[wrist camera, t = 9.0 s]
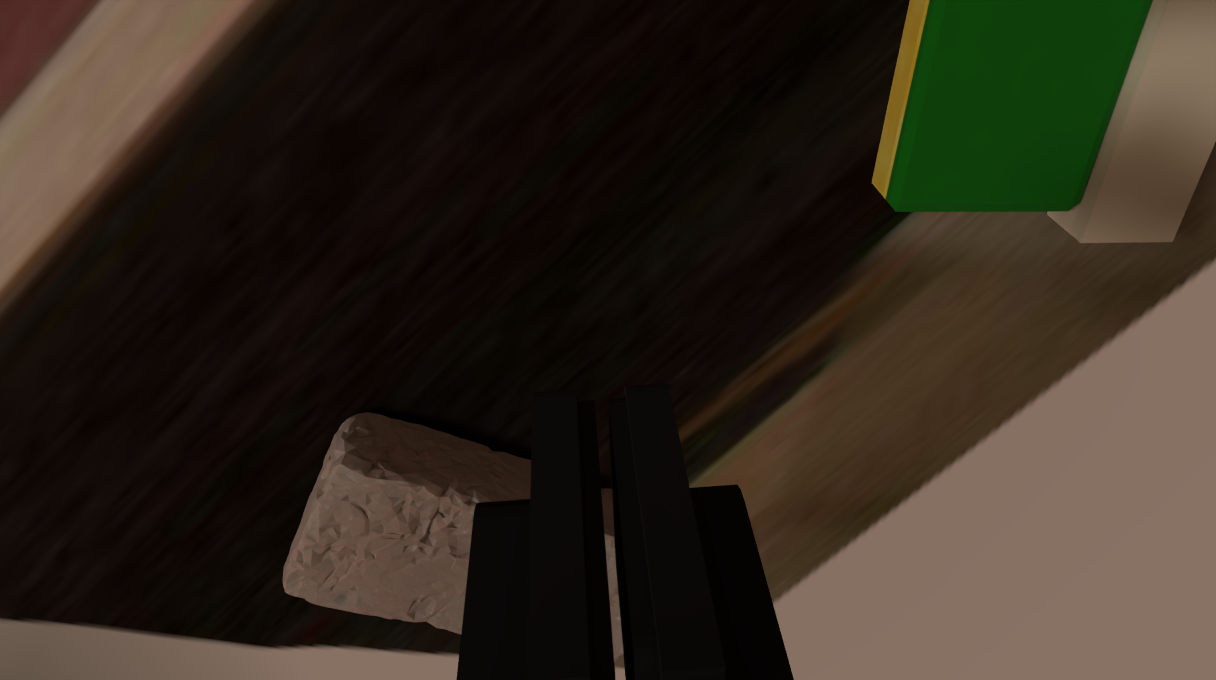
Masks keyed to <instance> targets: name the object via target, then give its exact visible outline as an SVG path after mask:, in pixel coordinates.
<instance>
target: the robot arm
mask: <svg viewBox="0 0 1216 680" xmlns="http://www.w3.org/2000/svg"><path fill="white" fill-rule="evenodd" d="M608 410H609V432H610V454H611V476H612V498H613V519H614V541H615V559H616V573H617V585H618V596H619V608H620V619H621V631H622V642H623V653H624V665H625V676H626V680H794V679H793V675H792V672H791V668H790V664H789V661H788V657H787V653H786V650H785V646H784V643H783V639H782V635H781V632H780V628H779V624H778V621H777V618H776V614H775V610H774V606H773V603H772V599H771V596H770V592H769V588H768V585H767V581H766V577H765V574H764V570H763V567H762V563H761V559H760V556H759V552H758V548H757V545H756V541H755V538H754V534H753V530H752V527H751V523H750V519H749V516H748V512H747V509H746V505H745V501H744V498H743V495H742V492H741V489H740V488H739V486H738V485H726V486H711V487H697V488H689V483H688V478H687V473H686V468H685V464H684V459H683V454H682V449H681V444H680V439H679V434H678V429H677V424H676V419H675V414H674V409H673V404H672V399H671V394H670V390H669V386H668V384H654V385H639V386H625V387H624V398H618V399H608ZM457 680H615V666H614V652H613V638H612V625H611V612H610V599H609V586H608V572H607V559H606V546H605V533H604V520H603V507H602V494H601V481H600V467H599V454H598V441H597V428H596V415H595V402H594V400H587V401H577V390H562V391H547V392H534V393H533V407H532V448H531V488H530V499H523V500H509V501H494V502H480V503H477V504H476V506H475V510H474V516H473V525H472V535H471V545H470V555H469V564H468V574H467V584H466V594H465V604H464V613H463V623H462V633H461V643H460V652H459V662H458V672H457Z"/></svg>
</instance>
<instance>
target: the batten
mask: <svg viewBox="0 0 1216 680" xmlns="http://www.w3.org/2000/svg"><path fill="white" fill-rule="evenodd" d="M1215 142H1216V0H1152V3H1151V5H1150V8H1149V11H1148V14H1147V17H1146V19H1145V22H1144V25H1143V28H1142V31H1141V33H1140V36H1139V39H1138V42H1137V45H1136V47H1135V50H1134V53H1133V56H1132V58H1131V61H1130V64H1129V67H1128V70H1127V72H1126V75H1125V78H1124V81H1123V84H1122V86H1121V89H1120V92H1119V95H1118V98H1117V100H1116V103H1115V106H1114V109H1113V111H1112V114H1111V117H1110V120H1109V123H1108V125H1107V128H1106V131H1105V134H1104V137H1103V139H1102V142H1101V145H1100V148H1099V150H1098V153H1097V156H1096V159H1095V162H1094V164H1093V167H1092V170H1091V173H1090V176H1089V178H1088V181H1087V184H1086V187H1085V190H1084V192H1083V195H1082V198H1081V201H1080V203H1079V204H1077V205H1076V206H1075V207H1073V208H1072V209H1070V210H1069V211H1048V212H1047V215H1048V216H1049V217H1050V218H1052V219H1053V220H1054V221H1055V222H1056V223H1058V224H1059V225H1060V226H1061V227H1062V228H1064V229H1065V230H1066V231H1067V232H1068V233H1069V234H1071V235H1072V236H1073V237H1074V238H1075V239H1077V240H1078V241H1079V242H1080V243H1129V242H1173V240H1174V238H1175V235H1176V233H1177V231H1178V228H1179V226H1180V224H1181V221H1182V219H1183V217H1184V214H1185V212H1186V210H1187V207H1188V205H1189V203H1190V200H1191V198H1192V196H1193V193H1194V191H1195V189H1196V186H1197V184H1198V182H1199V179H1200V177H1201V175H1202V172H1203V170H1204V168H1205V165H1206V163H1207V161H1208V158H1209V156H1210V154H1211V151H1212V149H1213V147H1214V144H1215Z"/></svg>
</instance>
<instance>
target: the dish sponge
mask: <svg viewBox="0 0 1216 680" xmlns="http://www.w3.org/2000/svg"><path fill="white" fill-rule="evenodd" d="M1151 3H1152V0H910V2H909V7H908V12H907V17H906V22H905V26H904V31H903V36H902V41H901V45H900V50H899V55H898V60H897V64H896V69H895V74H894V79H893V84H892V88H891V93H890V98H889V103H888V107H887V112H886V117H885V122H884V126H883V131H882V136H881V141H880V146H879V150H878V155H877V160H876V165H875V169H874V174H873V179H872V184H873V185H874V186H875V187H876V188H877V190H878V191H879V192H880V193H881V194H882V196H883V197H884V198H885V199H886V200H887V202H888V203H889V204H890V205H891V206H892V208H893V209H894V210H895V211H896V212H1007V211H1069V210H1070V209H1072V208H1073V207H1075V206H1076V205H1077V204H1079V203H1080V201H1081V198H1082V195H1083V192H1084V190H1085V187H1086V184H1087V181H1088V178H1089V176H1090V173H1091V170H1092V167H1093V164H1094V162H1095V159H1096V156H1097V153H1098V150H1099V148H1100V145H1101V142H1102V139H1103V137H1104V134H1105V131H1106V128H1107V125H1108V123H1109V120H1110V117H1111V114H1112V111H1113V109H1114V106H1115V103H1116V100H1117V98H1118V95H1119V92H1120V89H1121V86H1122V84H1123V81H1124V78H1125V75H1126V72H1127V70H1128V67H1129V64H1130V61H1131V58H1132V56H1133V53H1134V50H1135V47H1136V45H1137V42H1138V39H1139V36H1140V33H1141V31H1142V28H1143V25H1144V22H1145V19H1146V17H1147V14H1148V11H1149V8H1150V5H1151Z"/></svg>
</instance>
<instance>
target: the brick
mask: <svg viewBox="0 0 1216 680" xmlns="http://www.w3.org/2000/svg"><path fill="white" fill-rule="evenodd" d="M530 488H531V460H528V459H524V458H520V457H517V456H514V455H511V454H508V453H505V452H495V451H492V450H491V449H490V448H489V447H487V446H485V445H482V444H479V443H476V442H472V441H469V440H465V439H461V438H458V437H456V436H453V435H451V434H448V433H444V432H440V431H437V430H434V429H431V428H429V427H426V426H423V425H419V424H413V423H408V422H405V421H402V420H397V419H391V418H389V417H386V416H384V415H380V414H375V413H369V412H366V413H360V414H356V415H354V416H352V417H350V418H348V419H347V420H346V421H345V422H344V423H343V424H342V425H341V426H340V428H339V430H338V432H337V433H336V434H335V435H334V438H333V440H332V443H331V446H330V448H329V450H328V452H327V454H326V456H325V459H324V462H323V467H322V469H321V471H320V474H319V476H318V479H317V482H316V484H315V485H314V488H313V491H312V493H311V494H310V497H309V499H308V502H307V505H306V508H305V510H304V513H303V518H302V520H301V523H300V526H299V529H298V531H297V534H296V536H295V538H294V540H293V543H292V545H291V548H290V552H289V556H288V558H287V560H286V563H285V565H284V572H283V586H284V589H285V592H286V593H287V594H290V595H292V596H296V597H301V598H305V600H307V601H308V602H310V603H313V604H317V605H320V606H324V607H330V608H335V609H340V610H344V611H349V612H354V613H359V614H365V615H374V616H379V617H383V618H386V619H400V620H403V621H409V622H424V621H427V622H428V623H430V624H432V625H433V626H435V627H436V628H441V629H446V630H449V631H452V632H455V633H458V634H461V633H462V623H463V613H464V604H465V594H466V584H467V574H468V564H469V555H470V545H471V535H472V525H473V516H474V510H475V506H476V504H477V503H480V502H494V501H509V500H523V499H530ZM601 494H602V507H603V520H604V533H605V546H606V559H607V572H608V586H609V599H610V612H611V625H612V638H613V652H614V662H615V661H617V660H618V658H619V657H620V655H623V654H624V653H623V642H622V631H621V619H620V608H619V596H618V585H617V573H616V559H615V541H614V519H613V498H612V489H608V488H604V489H602V488H601Z"/></svg>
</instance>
